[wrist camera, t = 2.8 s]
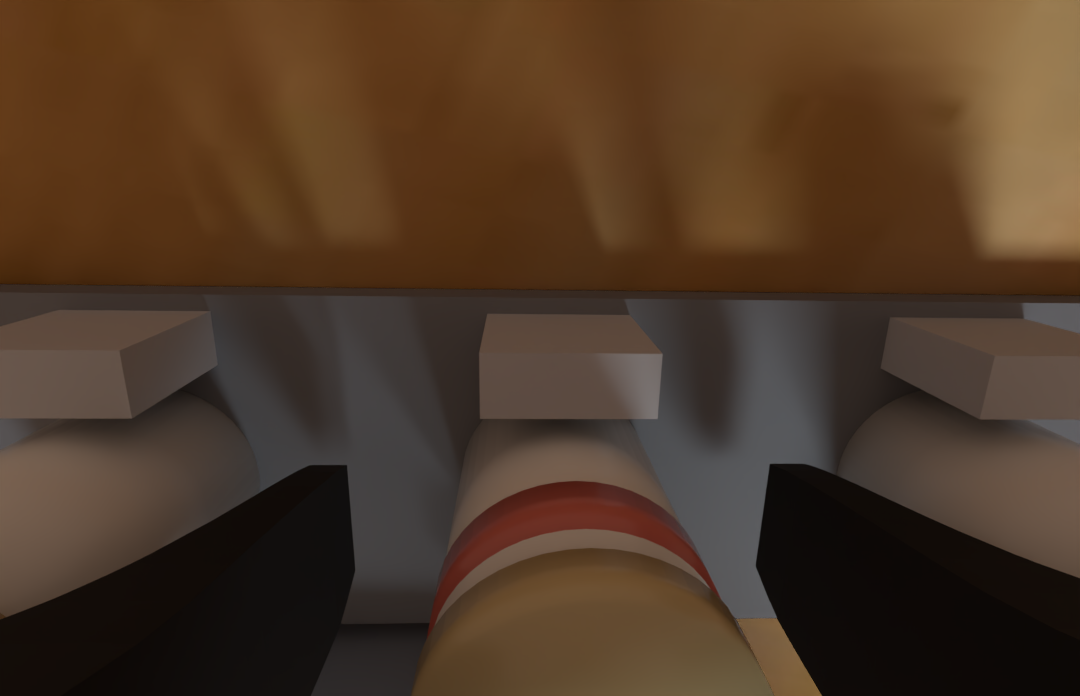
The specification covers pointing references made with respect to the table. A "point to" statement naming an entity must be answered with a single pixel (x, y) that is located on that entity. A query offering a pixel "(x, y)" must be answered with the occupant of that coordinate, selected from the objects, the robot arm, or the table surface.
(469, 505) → the cylinder
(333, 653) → the tray
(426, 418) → the holder
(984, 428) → the beige capped white cylinder
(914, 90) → the table surface
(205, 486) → the cylinder
